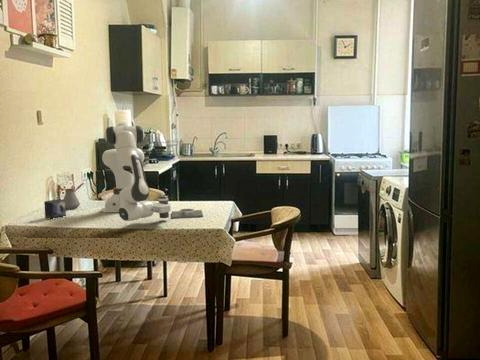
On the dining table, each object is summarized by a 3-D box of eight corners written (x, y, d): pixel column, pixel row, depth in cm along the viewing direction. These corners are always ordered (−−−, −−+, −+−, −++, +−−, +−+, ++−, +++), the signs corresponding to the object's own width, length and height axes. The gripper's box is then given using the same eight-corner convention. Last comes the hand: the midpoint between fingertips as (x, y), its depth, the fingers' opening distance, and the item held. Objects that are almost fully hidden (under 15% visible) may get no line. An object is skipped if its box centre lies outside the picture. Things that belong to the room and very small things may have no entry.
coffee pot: (72, 210, 313) (71, 187, 310) (57, 209, 316) (56, 187, 314) (92, 204, 333) (91, 182, 331) (78, 203, 336) (76, 182, 334)
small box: (51, 219, 285) (50, 202, 284) (44, 218, 289) (43, 201, 287) (66, 216, 294) (65, 199, 293) (59, 215, 297) (58, 198, 296)
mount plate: (171, 218, 280) (171, 213, 280) (171, 213, 296) (171, 208, 295) (202, 217, 282) (202, 211, 282) (201, 211, 298) (201, 206, 298)
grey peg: (159, 218, 272) (158, 197, 270) (159, 216, 277) (158, 195, 275) (168, 218, 273) (168, 196, 271) (168, 216, 278) (168, 195, 276)
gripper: (159, 205, 257) (177, 201, 268) (133, 201, 269) (152, 197, 280) (159, 216, 258) (178, 212, 269) (134, 212, 270) (152, 208, 281)
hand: (164, 204), depth 275 cm, fingers closed on grey peg, 5 cm apart
